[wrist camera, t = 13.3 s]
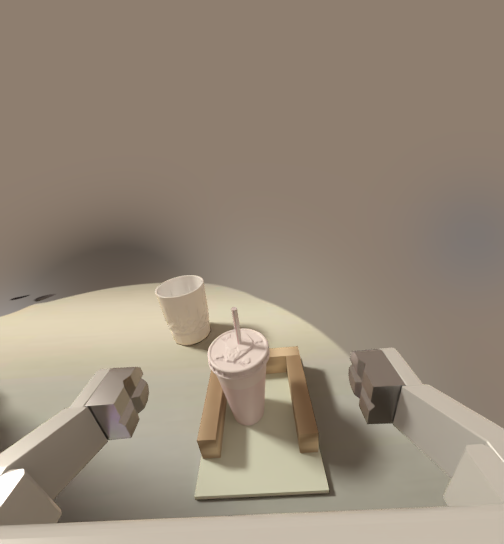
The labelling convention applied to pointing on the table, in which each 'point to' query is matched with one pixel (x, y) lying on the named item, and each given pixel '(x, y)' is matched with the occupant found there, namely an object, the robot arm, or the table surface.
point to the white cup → (185, 308)
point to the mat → (262, 454)
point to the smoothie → (241, 370)
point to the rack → (301, 403)
